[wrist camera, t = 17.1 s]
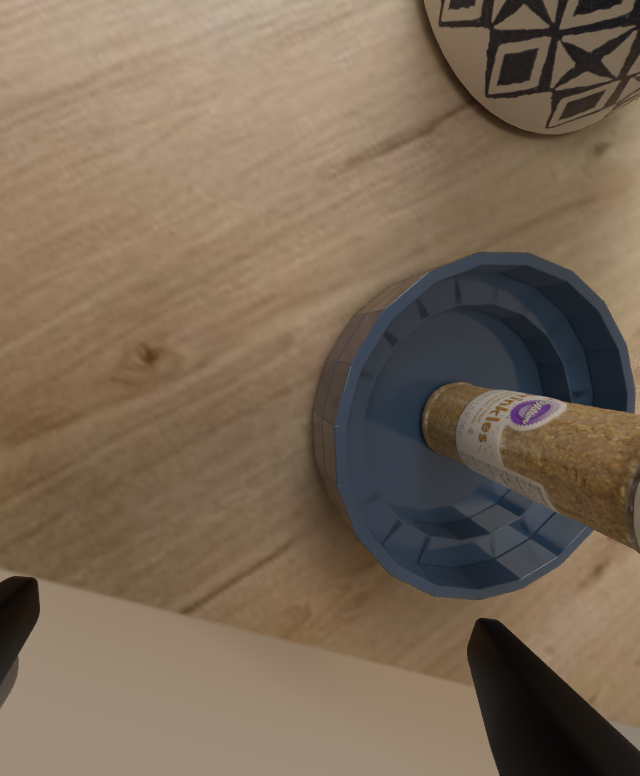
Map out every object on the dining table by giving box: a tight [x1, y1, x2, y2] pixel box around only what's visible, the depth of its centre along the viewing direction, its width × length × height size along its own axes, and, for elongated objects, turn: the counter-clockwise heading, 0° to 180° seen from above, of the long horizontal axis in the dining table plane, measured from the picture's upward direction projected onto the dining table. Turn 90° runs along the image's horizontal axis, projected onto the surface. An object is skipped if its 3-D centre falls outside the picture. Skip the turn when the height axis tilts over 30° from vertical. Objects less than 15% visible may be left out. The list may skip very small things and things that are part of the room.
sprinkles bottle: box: [421, 382, 640, 554], centre depth 15 cm, size 5×5×13 cm
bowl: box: [313, 252, 636, 600], centre depth 20 cm, size 17×17×4 cm
